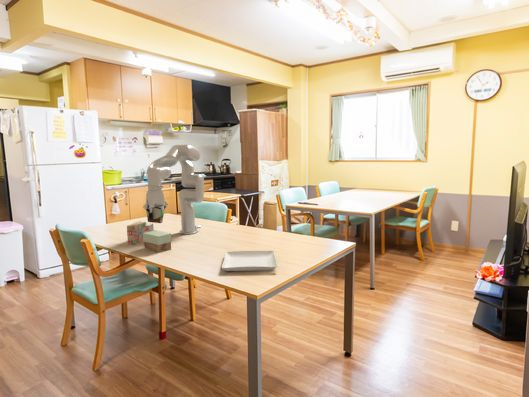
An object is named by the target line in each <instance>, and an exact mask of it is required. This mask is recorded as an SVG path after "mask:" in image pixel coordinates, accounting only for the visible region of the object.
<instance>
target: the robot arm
mask: <svg viewBox="0 0 529 397" xmlns="http://www.w3.org/2000/svg"><path fill="white" fill-rule="evenodd" d="M200 152H201V151H200V150H199V149H198V148H196V147H195V146H193V145H190V144H175V145H172V147H170V149H169V150H168V152H167V153H166V154H165V155H163V156H161V157H159V158H157V159H155V160H153V161H152V162H151V163H150V164H149V165H148V167H147V169H146V176H147V190H146V195H145V204H144V205H143V206H142V208H143V209H144V210H145V211H147V212H148V213H149V219H151V220H152V219H153V213H152V209H153V208H155V207H161V206H164V210H163V212H164V211H165V209H166V208H167V207H168V204H169V203H167V202H166V201H165V195H164V191H163V188H164V185H162V180H163V179H164V180H165V179H169V178H170V177H171V174H172V170H171V169H170V168H171V167H173V166H175V165H176V166H177V163H178V162H179V165H180V166H181V185H182V186H183V187H184V188H183V189H181V190H180V191H179V193H178V200H179V205H180V219H181V230H179V234H180V235H181V234H182V235H193V234H197V233H198V229H201V225H196V218H195V214H196V212H195V207H194V205H193V203H194V204H196V203H197V204H199V203H202V202H203V201H204V196H205V195H204V194H205V178H204V175H202V174H201V173H195V167H194V165H193V163H192V162H196V161H199V160H200V159H201V158H200V157H201V153H200ZM147 207H149V208H147ZM147 212H146V213H147ZM163 217H165V216H164V214H163Z"/></svg>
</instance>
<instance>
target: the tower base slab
mask: <svg viewBox="0 0 529 397" xmlns="http://www.w3.org/2000/svg"><path fill="white" fill-rule="evenodd" d="M171 242H172V241H171ZM171 242H168V243H164V244H161V245H157V244H153V243H149V242H145V241H143V243H144V245H143V246H144V247H143V248H144V249H146V250H148V251H152V252H154V253H157V254H158V253H162V252H167V251H171V250H172V243H171Z"/></svg>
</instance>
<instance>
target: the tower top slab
mask: <svg viewBox="0 0 529 397" xmlns="http://www.w3.org/2000/svg"><path fill="white" fill-rule="evenodd" d="M144 241H145V242H149V243H153V244H157V245H161V244H164V243H168V242H172V233H170V232H165V231H161V230H156V229H154V231H150V232H145V233H143V242H144Z"/></svg>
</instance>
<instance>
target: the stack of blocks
mask: <svg viewBox="0 0 529 397" xmlns="http://www.w3.org/2000/svg"><path fill="white" fill-rule="evenodd" d="M154 230H155V229H154V223H152V222H148V223H147V222H146V221H136V222H133V223H131V224H128V225H126V235H127V237H126V238H127V245H139V244H141V243H144V241H143V233H145V232H150V231H154Z"/></svg>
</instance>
